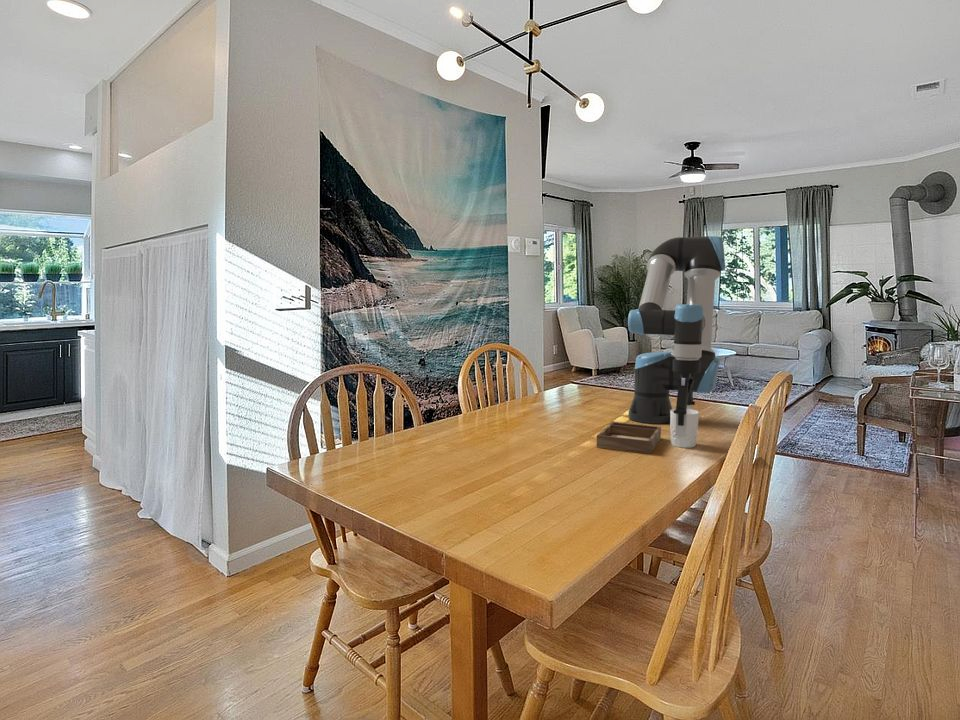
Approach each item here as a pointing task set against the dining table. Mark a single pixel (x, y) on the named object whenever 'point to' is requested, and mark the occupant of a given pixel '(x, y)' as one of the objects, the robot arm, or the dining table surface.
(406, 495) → the dining table surface
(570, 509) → the dining table surface
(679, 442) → the white cup
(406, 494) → the dining table surface
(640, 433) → the walnut caddy
